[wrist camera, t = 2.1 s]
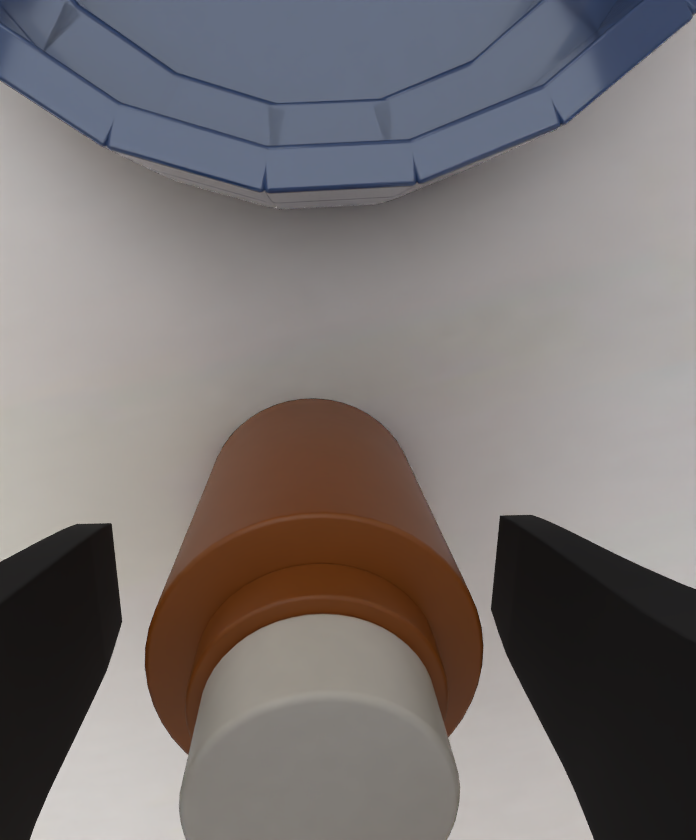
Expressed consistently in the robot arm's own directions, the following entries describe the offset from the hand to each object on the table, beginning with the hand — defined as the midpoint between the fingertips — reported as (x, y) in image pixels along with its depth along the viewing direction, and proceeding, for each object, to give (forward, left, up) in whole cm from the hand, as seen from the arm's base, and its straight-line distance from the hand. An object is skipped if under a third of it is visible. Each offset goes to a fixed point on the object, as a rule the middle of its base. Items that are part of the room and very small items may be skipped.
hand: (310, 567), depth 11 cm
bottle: (0, 0, -3) cm, 3 cm away
